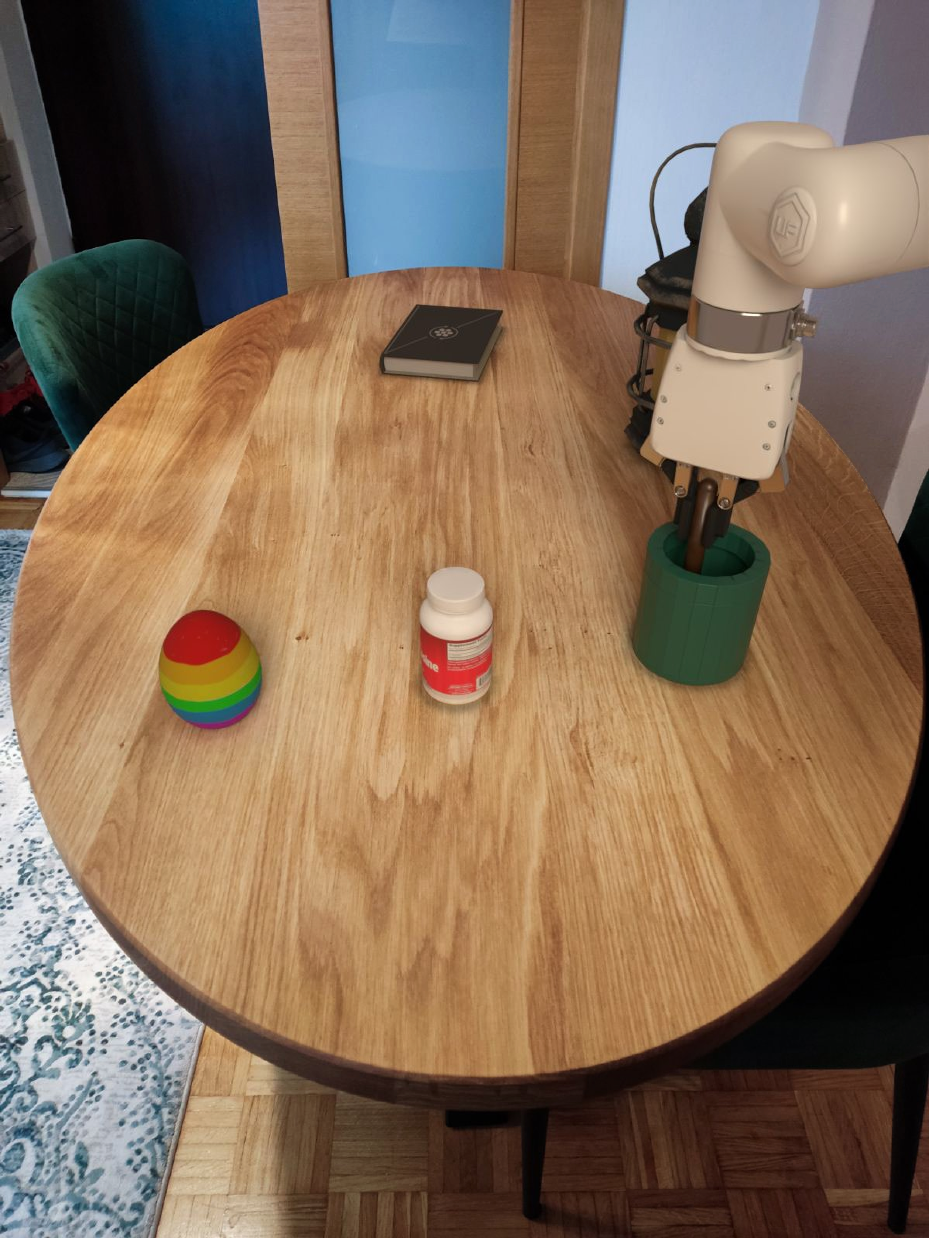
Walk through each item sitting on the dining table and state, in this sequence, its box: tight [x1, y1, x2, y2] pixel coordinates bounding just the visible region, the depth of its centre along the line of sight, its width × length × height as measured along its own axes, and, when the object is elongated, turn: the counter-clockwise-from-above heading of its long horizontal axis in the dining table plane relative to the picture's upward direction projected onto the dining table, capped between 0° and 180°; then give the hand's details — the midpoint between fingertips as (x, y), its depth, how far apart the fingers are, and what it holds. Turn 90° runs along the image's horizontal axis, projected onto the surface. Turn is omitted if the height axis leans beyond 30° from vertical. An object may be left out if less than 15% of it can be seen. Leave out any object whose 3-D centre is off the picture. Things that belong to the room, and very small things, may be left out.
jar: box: [632, 520, 772, 687], centre depth 78 cm, size 10×10×11 cm
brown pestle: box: [683, 477, 719, 575], centre depth 76 cm, size 4×4×16 cm
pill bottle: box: [418, 566, 494, 705], centre depth 74 cm, size 6×6×11 cm
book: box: [378, 303, 504, 383], centre depth 136 cm, size 22×15×3 cm
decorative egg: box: [158, 609, 263, 730], centre depth 72 cm, size 8×8×10 cm
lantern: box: [623, 142, 718, 454], centre depth 101 cm, size 14×13×35 cm
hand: (698, 535), depth 74 cm, fingers closed on brown pestle, 1 cm apart
